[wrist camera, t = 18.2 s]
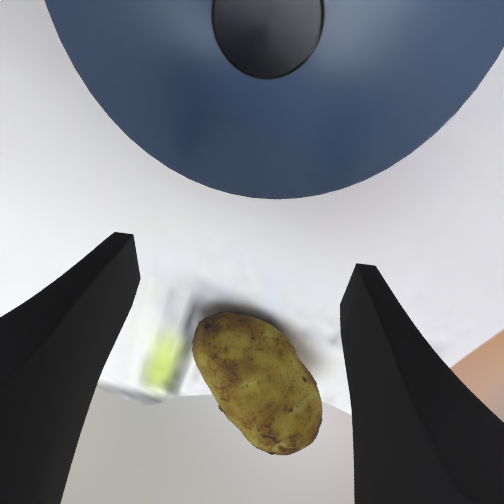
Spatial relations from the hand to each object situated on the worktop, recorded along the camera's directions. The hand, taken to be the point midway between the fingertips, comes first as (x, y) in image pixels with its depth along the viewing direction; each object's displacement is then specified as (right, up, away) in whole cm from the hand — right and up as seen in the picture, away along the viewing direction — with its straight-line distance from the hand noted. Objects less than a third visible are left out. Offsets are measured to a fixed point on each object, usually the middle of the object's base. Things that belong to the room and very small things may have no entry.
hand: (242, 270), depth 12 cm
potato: (+1, -7, +21) cm, 22 cm away
